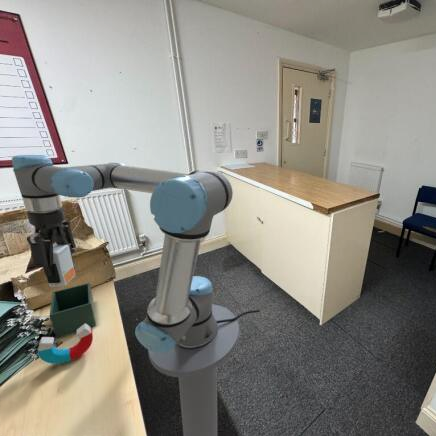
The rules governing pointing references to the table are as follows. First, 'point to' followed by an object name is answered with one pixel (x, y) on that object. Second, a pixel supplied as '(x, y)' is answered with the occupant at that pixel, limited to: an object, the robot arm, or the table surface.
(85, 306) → the bin
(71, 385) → the table surface
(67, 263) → the cosmetic box
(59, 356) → the magnet
